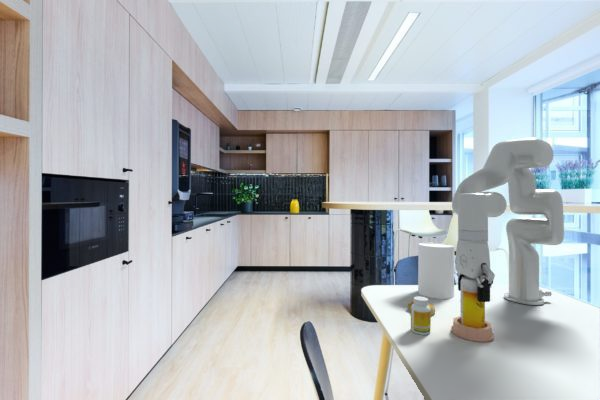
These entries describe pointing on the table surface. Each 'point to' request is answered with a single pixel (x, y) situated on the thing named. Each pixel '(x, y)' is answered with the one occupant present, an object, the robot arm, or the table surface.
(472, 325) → the beer can
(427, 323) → the supplement bottle
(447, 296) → the canister
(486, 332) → the jar base
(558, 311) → the table surface
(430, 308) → the bread roll
